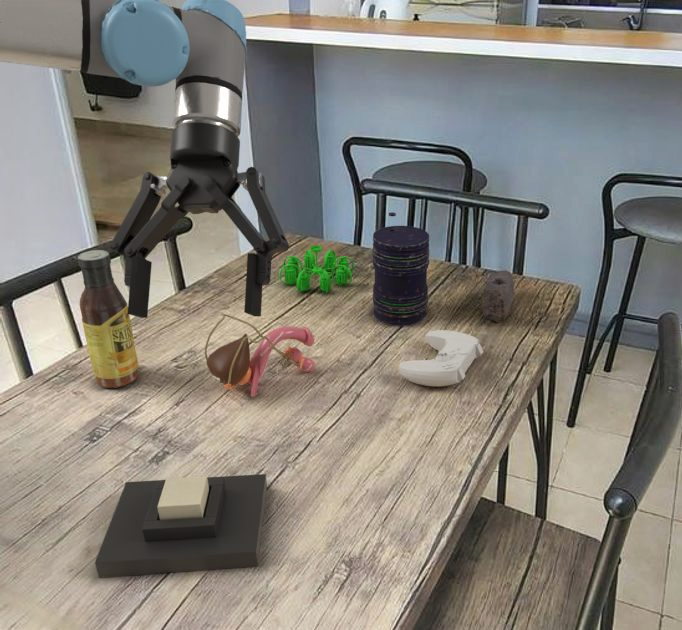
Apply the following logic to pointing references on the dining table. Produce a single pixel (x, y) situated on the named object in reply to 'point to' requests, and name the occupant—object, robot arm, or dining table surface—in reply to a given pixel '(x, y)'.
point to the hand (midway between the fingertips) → (194, 315)
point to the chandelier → (316, 270)
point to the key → (183, 498)
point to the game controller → (443, 359)
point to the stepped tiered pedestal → (185, 530)
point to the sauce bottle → (106, 323)
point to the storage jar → (400, 274)
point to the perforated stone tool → (498, 296)
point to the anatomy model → (255, 356)
